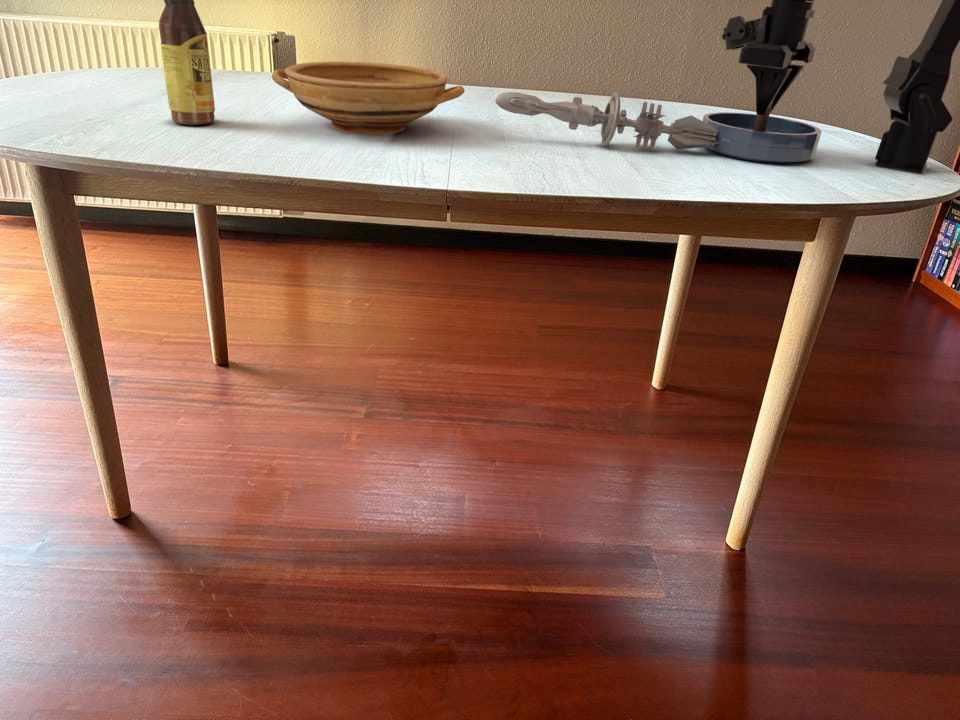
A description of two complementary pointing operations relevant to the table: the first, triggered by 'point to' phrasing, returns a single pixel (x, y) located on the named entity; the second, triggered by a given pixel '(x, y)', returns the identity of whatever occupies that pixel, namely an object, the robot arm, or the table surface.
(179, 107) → the sauce bottle
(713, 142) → the spaceship
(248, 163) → the table surface
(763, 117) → the stirring stick
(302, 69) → the ceramic bowl
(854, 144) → the table surface
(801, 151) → the mixing bowl
